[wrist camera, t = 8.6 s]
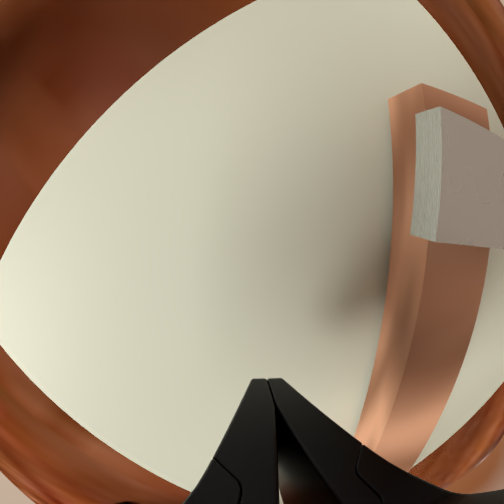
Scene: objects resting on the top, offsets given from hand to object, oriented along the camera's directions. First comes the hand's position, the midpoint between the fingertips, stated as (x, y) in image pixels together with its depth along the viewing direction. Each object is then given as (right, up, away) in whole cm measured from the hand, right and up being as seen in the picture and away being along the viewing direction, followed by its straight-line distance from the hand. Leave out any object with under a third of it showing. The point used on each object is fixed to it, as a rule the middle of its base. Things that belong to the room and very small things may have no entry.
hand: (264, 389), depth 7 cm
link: (+6, -2, +3) cm, 7 cm away
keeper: (+7, +6, +3) cm, 10 cm away
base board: (+4, 0, +4) cm, 6 cm away
